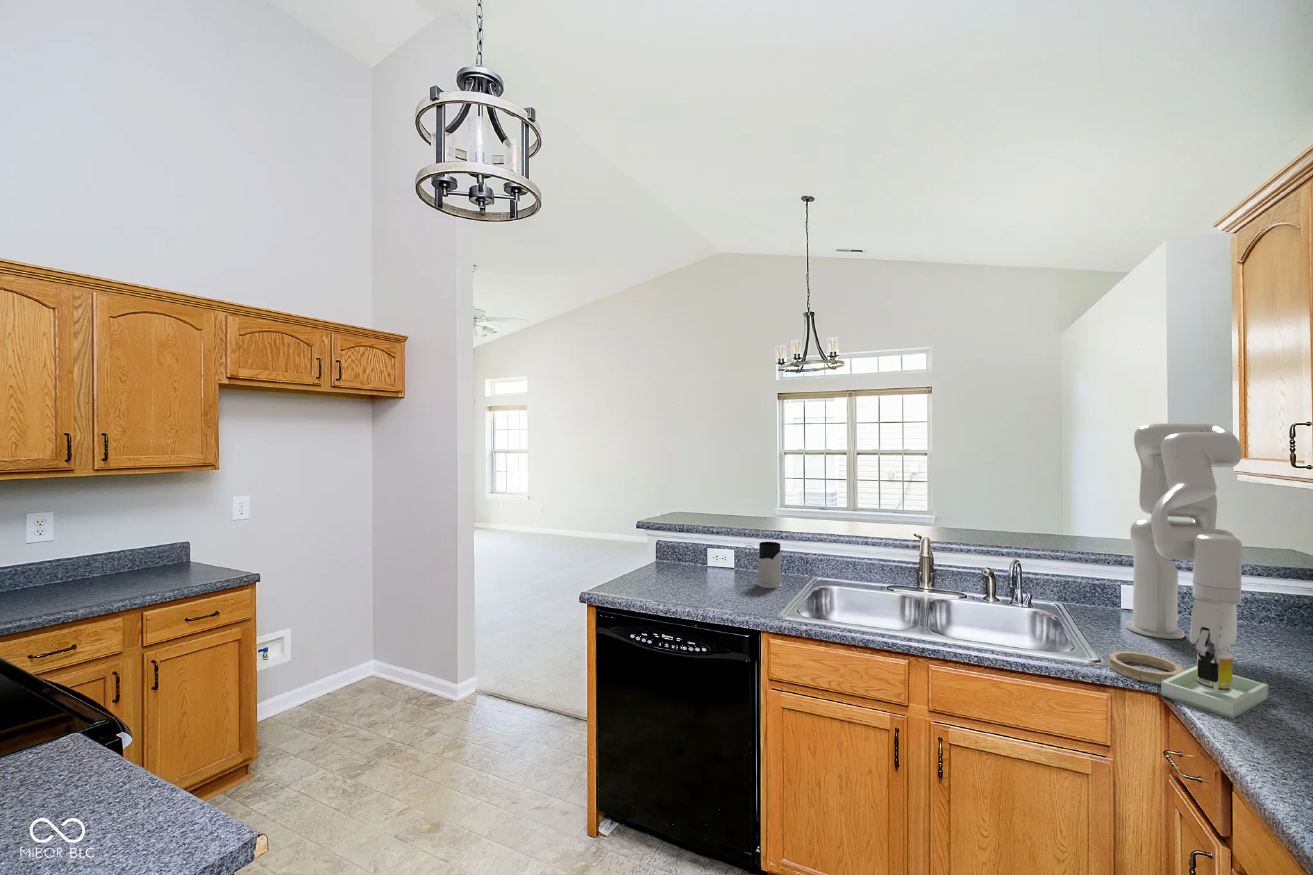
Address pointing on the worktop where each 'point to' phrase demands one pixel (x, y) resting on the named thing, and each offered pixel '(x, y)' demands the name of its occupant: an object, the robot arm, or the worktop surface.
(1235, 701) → the tray
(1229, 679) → the supplement bottle
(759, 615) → the worktop surface
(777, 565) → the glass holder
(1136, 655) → the collar
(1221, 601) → the robot arm
